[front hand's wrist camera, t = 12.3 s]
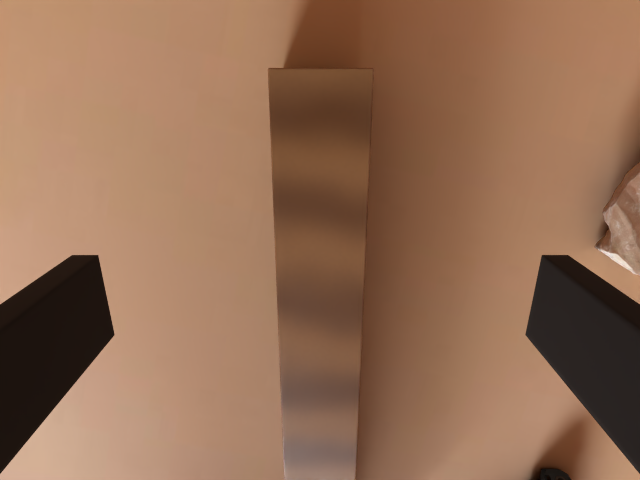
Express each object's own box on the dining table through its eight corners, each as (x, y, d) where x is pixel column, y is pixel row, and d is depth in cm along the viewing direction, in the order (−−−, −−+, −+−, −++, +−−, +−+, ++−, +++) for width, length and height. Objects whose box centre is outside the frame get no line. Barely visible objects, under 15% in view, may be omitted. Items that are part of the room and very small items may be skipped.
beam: (281, 72, 28) (267, 68, 21) (359, 72, 28) (373, 68, 21) (295, 554, 46) (290, 645, 39) (343, 554, 46) (348, 645, 39)
